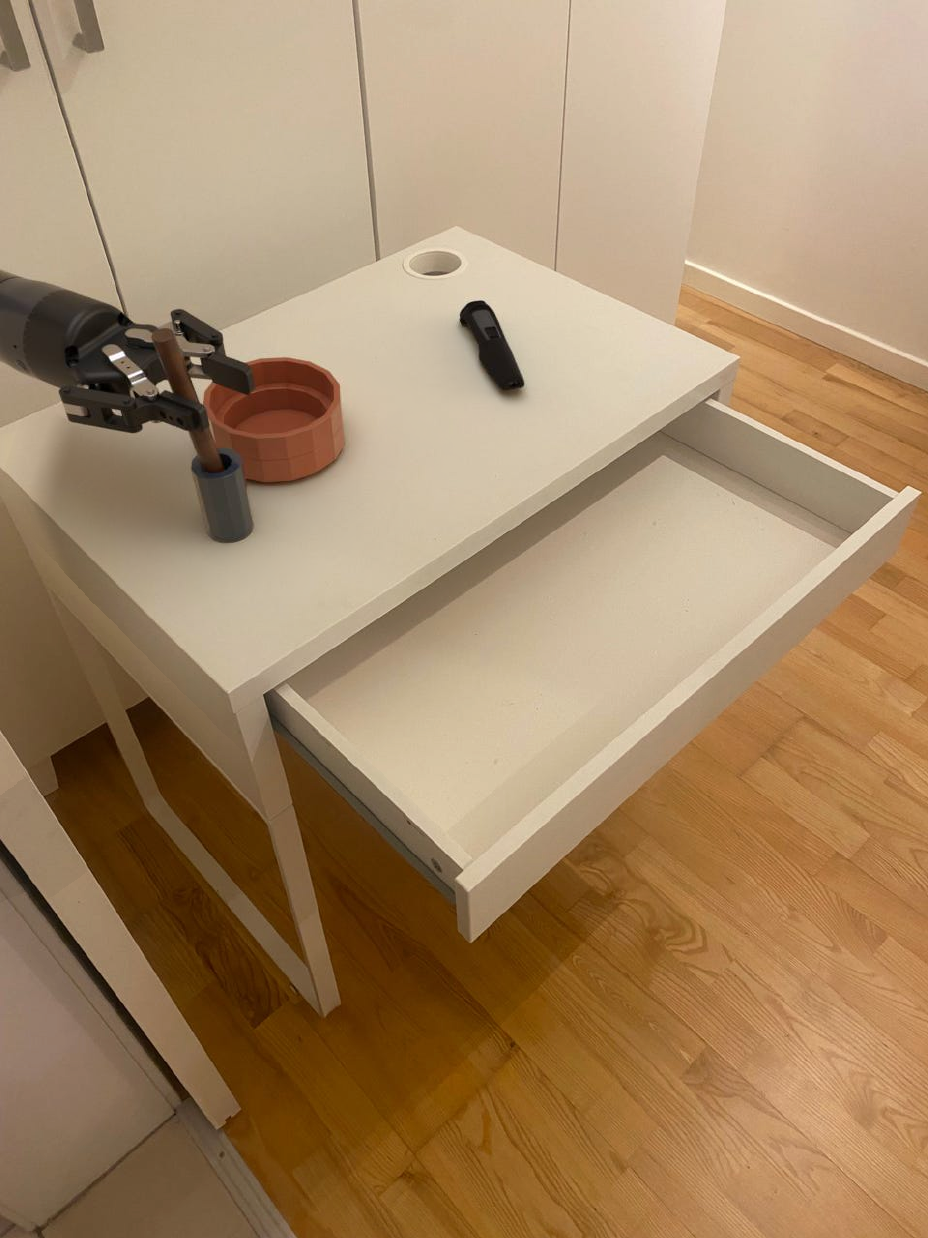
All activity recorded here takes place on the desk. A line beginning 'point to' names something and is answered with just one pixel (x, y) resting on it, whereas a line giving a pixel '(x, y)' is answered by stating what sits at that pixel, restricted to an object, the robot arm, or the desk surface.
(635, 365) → the desk surface
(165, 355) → the stick
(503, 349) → the electric trimmer
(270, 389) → the bowl
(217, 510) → the tube
